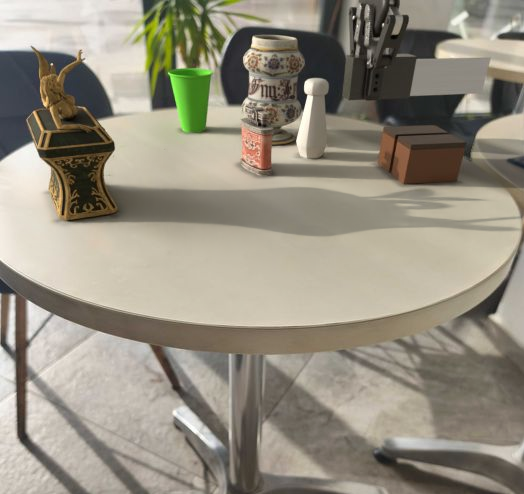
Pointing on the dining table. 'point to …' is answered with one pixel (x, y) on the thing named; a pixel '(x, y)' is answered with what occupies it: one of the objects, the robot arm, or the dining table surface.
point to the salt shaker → (313, 120)
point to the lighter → (256, 141)
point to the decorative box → (71, 148)
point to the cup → (191, 97)
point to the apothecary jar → (274, 81)
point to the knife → (418, 76)
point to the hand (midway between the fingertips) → (365, 96)
